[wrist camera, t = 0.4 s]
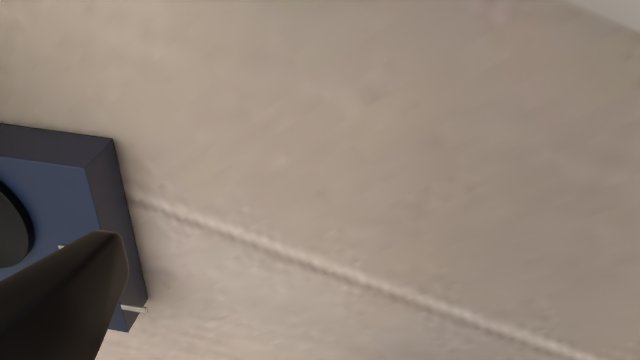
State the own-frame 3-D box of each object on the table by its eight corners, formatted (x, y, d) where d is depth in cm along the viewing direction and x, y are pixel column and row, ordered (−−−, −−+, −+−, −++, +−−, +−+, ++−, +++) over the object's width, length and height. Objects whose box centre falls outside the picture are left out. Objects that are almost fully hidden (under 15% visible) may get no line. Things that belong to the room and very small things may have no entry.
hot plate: (175, 320, 34) (156, 357, 32) (-14, 286, 36) (-44, 319, 34) (142, 142, 27) (115, 175, 25) (-94, 110, 28) (-139, 138, 26)
